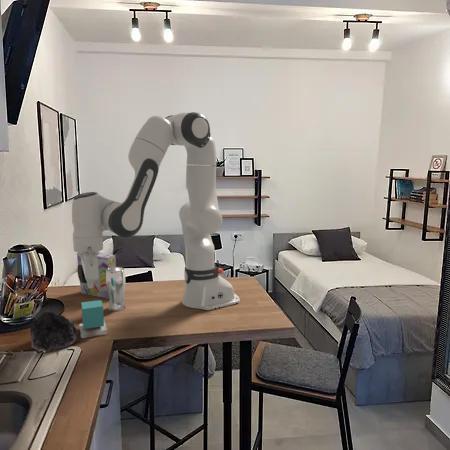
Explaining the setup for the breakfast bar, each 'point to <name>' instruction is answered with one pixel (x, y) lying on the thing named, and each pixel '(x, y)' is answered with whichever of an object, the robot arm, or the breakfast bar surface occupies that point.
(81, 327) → the square base with post
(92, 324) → the turquoise cube
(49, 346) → the dark grey rock
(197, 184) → the robot arm
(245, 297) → the breakfast bar surface
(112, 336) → the breakfast bar surface
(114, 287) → the beer glass
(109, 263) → the cake pan box
